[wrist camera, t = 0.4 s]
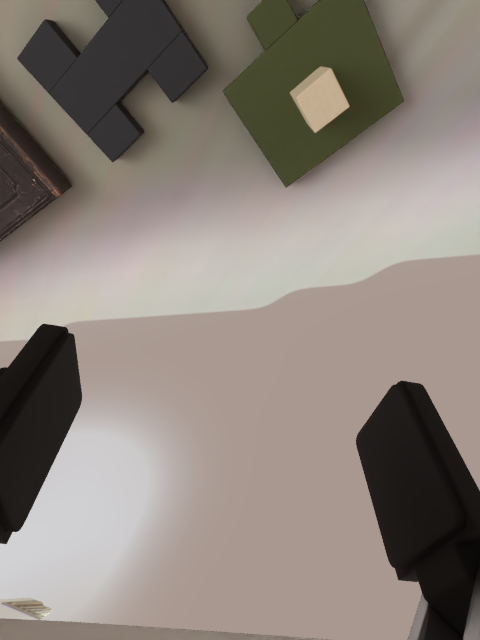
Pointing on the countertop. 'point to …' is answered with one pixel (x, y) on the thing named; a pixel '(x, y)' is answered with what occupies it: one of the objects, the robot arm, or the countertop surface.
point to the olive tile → (294, 62)
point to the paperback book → (24, 176)
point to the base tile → (114, 67)
